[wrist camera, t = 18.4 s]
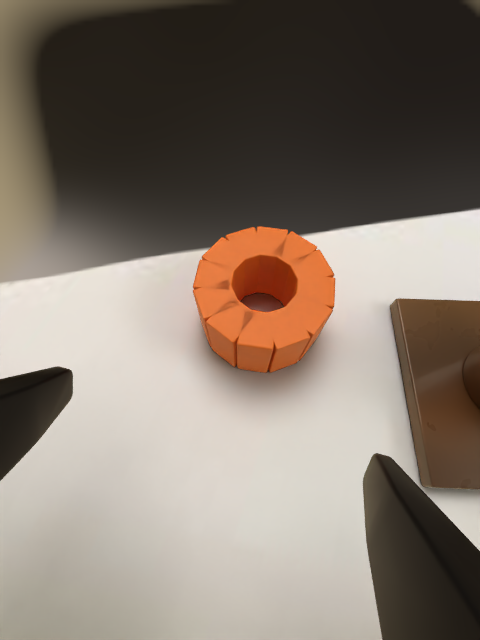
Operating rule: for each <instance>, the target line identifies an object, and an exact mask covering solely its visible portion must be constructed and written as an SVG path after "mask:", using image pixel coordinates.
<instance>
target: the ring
mask: <svg viewBox="0 0 480 640" xmlns="http://www.w3.org/2000/svg"><path fill="white" fill-rule="evenodd" d="M316 249H317V247H316V246H315V245H313V244H312V243H310V242H308V241H307V240H305V239H303V238H302V237H300V236H299V235H297V234H295V233H294V232H292V231H291V232H290V233H289V234H288V230H283V229H276V228H268V227H259V226H258V227H257V231H256V230H255V228H254V227H251V228H248V229H245V230H241V231H238V232H235V233H232V234H228V235H226V239H225V238H223V237H222V238H221V239H220V240H219V241H218V242H216V243H215V244H214V245H213V246H212V247H211V248H210V249H209V250H208V251H207V252H206V253H205V254H204V255H203V256H202V260H200V261H199V265H198V269H197V273H196V277H195V281H194V285H193V288H194V290H193V293H194V297H195V301H196V304H197V308H198V312H199V315H200V319H201V323H202V326H203V328H204V331H205V334H206V337H207V339H208V342H209V345H210V347H212V350H213V351H214V352H216V353H217V354H218V355H219V356H221V357H222V358H223V359H224V360H226V361H227V362H228V363H229V364H231V365H232V366H233V367H235V366H236V365H237V367H238V369H244V370H250V371H256V372H263V373H267V370H269V372H270V373H271V372H274V371H277V370H279V369H282V368H285V367H287V366H290V365H292V364H295V363H297V361H298V360H299V361H300V360H301V358H302V357H303V356H304V354H305V353H306V352H307V351H308V349H309V348H310V347H311V345H312V344H313V343H314V341H315V340H316V338H317V337H318V335H319V333H320V332H321V330H322V328H323V326H324V325H325V323H326V321H327V320H328V318H329V316H330V315H331V313H332V311H333V310H332V309H333V307H334V297H335V278H333V276H334V273H333V271H332V270H331V268H330V266H329V265H328V263H327V261H326V260H325V258H324V256H323V255H322V253H321V251H320V250H316ZM256 292H258V293H265V294H271V295H272V296H274V297H275V298H276V299H278V300H279V301H281V302H282V304H283V306H284V307H283V308H280V309H277V310H274V311H271V312H263V311H256V310H251V309H250V308H248V307H247V306H246V305H244V304H243V303H241V302H240V301H241V300H242V298H243V297H244V296H247V295H250V294H253V293H256Z"/></svg>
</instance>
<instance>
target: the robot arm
mask: <svg viewBox="0 0 480 640" xmlns="http://www.w3.org/2000/svg"><path fill="white" fill-rule="evenodd" d="M72 394H73V373H72V371H71V370H70V369H66V368H63V367H53V368H48V369H44V370H39V371H35V372H30V373H26V374H22V375H17V376H13V377H8V378H4V379H0V481H1V480H2V479H3V478H4V477H5V475H6V474H7V473H8V472H9V471H10V470H11V469H12V468H13V467H14V466H15V465H16V464H17V463H18V462H19V461H20V460H21V459H22V458H23V457H24V456H25V454H26V453H27V452H28V451H29V450H30V449H31V448H32V447H33V446H34V445H35V444H36V443H37V441H38V440H39V439H40V438H41V437H42V435H43V434H44V433H45V432H46V430H47V429H48V428H49V427H50V425H51V424H52V423H53V421H54V420H55V419H56V418H57V416H58V415H59V414H60V413H61V411H62V410H63V409H64V407H65V406H66V405H67V404H68V402H69V401H70V399H71V397H72ZM363 494H364V511H365V528H366V541H367V549H368V555H369V561H370V567H371V573H372V579H373V585H374V592H375V598H376V604H377V610H378V616H379V622H380V628H381V634H382V640H480V551H479V550H478V549H477V548H476V547H475V546H474V545H473V544H472V543H471V541H470V540H469V539H468V538H467V537H466V536H465V535H464V534H463V533H462V532H461V531H460V530H459V529H458V528H457V527H456V526H455V525H454V523H453V522H452V521H451V520H450V519H449V518H448V517H447V516H446V515H445V514H444V513H443V512H442V511H441V510H440V509H439V508H438V507H437V505H436V504H435V503H434V502H433V501H432V500H431V499H430V498H429V497H428V496H427V495H426V494H425V493H424V492H423V491H422V490H421V489H420V488H419V486H418V485H417V484H416V483H415V482H414V481H413V480H412V479H411V478H410V477H409V476H408V475H407V474H406V473H405V472H404V471H403V470H402V468H401V467H400V466H399V465H398V464H397V463H396V462H395V461H394V460H393V459H392V458H391V457H389V456H385V455H382V454H378V453H376V454H374V455H373V456H372V458H371V460H370V463H369V465H368V468H367V470H366V472H365V475H364V478H363Z"/></svg>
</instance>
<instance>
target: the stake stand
mask: <svg viewBox="0 0 480 640" xmlns="http://www.w3.org/2000/svg"><path fill="white" fill-rule="evenodd" d="M390 309H391V315H392V320H393V326H394V331H395V337H396V343H397V348H398V354H399V360H400V365H401V371H402V376H403V382H404V388H405V393H406V399H407V405H408V410H409V416H410V422H411V427H412V433H413V438H414V444H415V450H416V455H417V461H418V467H419V472H420V478H421V483H422V486H424V487H432V488H455V489H479V490H480V301H458V300H426V299H396V300H395V301H394V302H393V303H392V304H391V305H390Z"/></svg>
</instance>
